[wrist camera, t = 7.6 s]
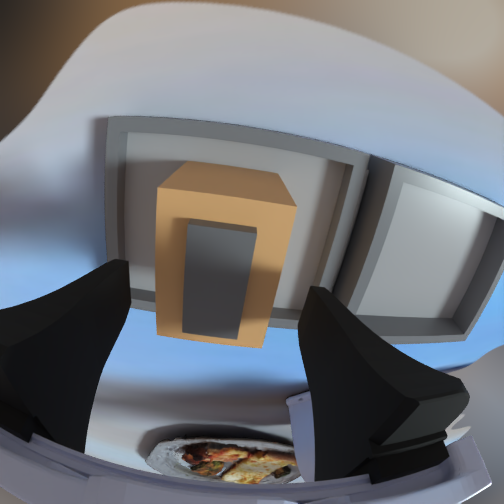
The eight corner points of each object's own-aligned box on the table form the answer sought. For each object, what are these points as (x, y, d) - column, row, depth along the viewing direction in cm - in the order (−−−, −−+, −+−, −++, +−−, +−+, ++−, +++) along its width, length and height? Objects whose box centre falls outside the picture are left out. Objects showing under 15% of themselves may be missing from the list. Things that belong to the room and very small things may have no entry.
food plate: (176, 406, 26) (171, 434, 23) (345, 436, 32) (350, 457, 29) (139, 460, 37) (136, 477, 34) (258, 483, 42) (259, 498, 39)
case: (499, 204, 17) (524, 218, 14) (449, 319, 23) (464, 340, 20) (370, 154, 16) (395, 164, 13) (321, 314, 21) (331, 343, 18)
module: (278, 173, 16) (300, 212, 10) (256, 281, 19) (262, 357, 13) (187, 160, 15) (152, 191, 9) (178, 270, 18) (154, 343, 12)
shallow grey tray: (369, 153, 16) (384, 159, 14) (320, 313, 21) (326, 331, 19) (122, 115, 14) (108, 117, 13) (121, 288, 20) (112, 304, 18)
